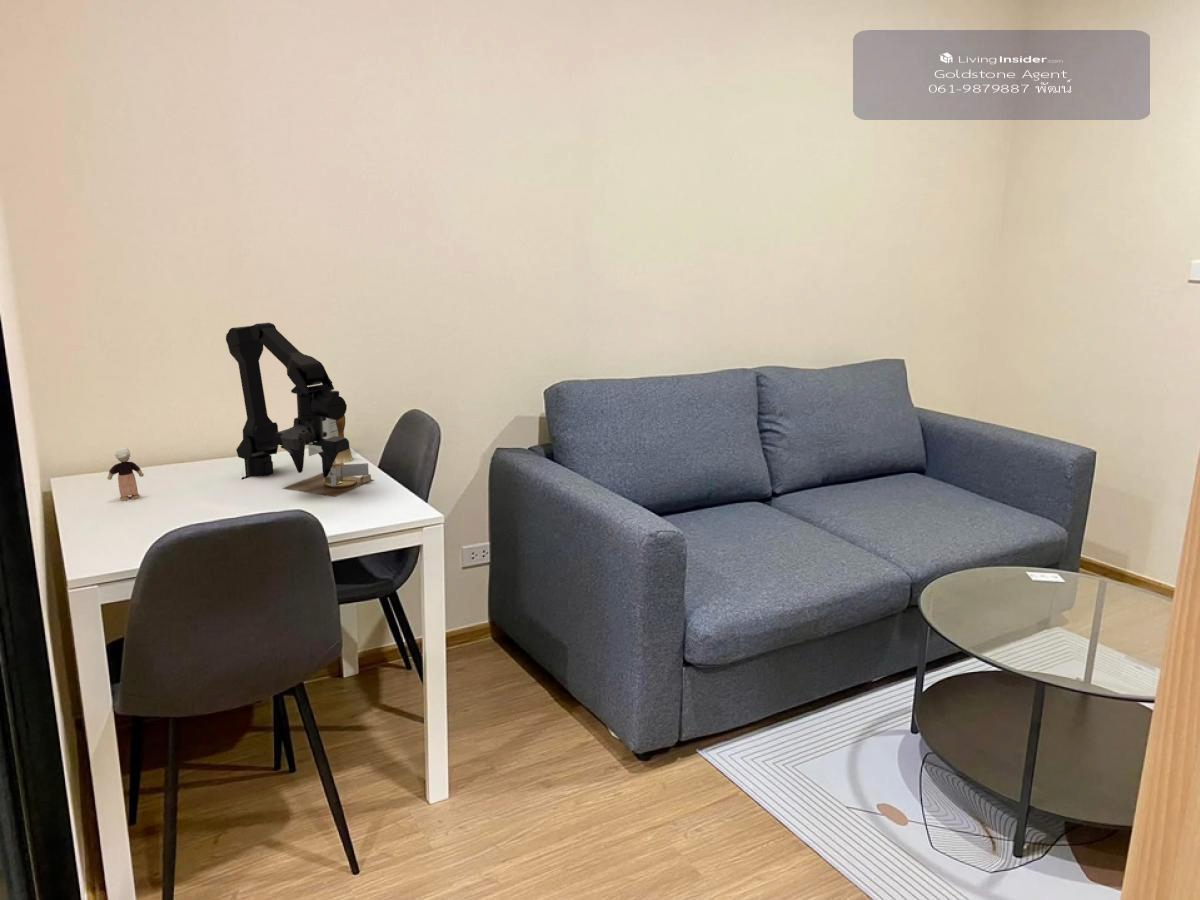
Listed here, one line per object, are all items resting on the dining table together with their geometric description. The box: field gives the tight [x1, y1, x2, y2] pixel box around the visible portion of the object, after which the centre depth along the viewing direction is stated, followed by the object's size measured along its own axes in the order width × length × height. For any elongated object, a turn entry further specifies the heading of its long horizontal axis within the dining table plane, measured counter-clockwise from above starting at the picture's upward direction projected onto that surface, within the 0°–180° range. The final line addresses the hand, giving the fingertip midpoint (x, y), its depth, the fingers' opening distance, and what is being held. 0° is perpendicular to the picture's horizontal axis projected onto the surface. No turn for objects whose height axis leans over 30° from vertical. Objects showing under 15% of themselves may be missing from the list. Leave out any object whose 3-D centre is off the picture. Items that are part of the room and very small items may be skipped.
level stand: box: [282, 472, 375, 498], centre depth 233 cm, size 16×16×3 cm
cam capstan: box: [324, 460, 370, 488], centre depth 233 cm, size 11×17×5 cm, turn 16°
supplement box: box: [307, 418, 338, 457], centre depth 265 cm, size 7×7×13 cm
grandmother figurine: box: [107, 447, 145, 501], centre depth 222 cm, size 8×4×13 cm, turn 134°
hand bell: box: [335, 415, 355, 464], centre depth 254 cm, size 8×8×16 cm
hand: (312, 474), depth 228 cm, fingers open, 7 cm apart
